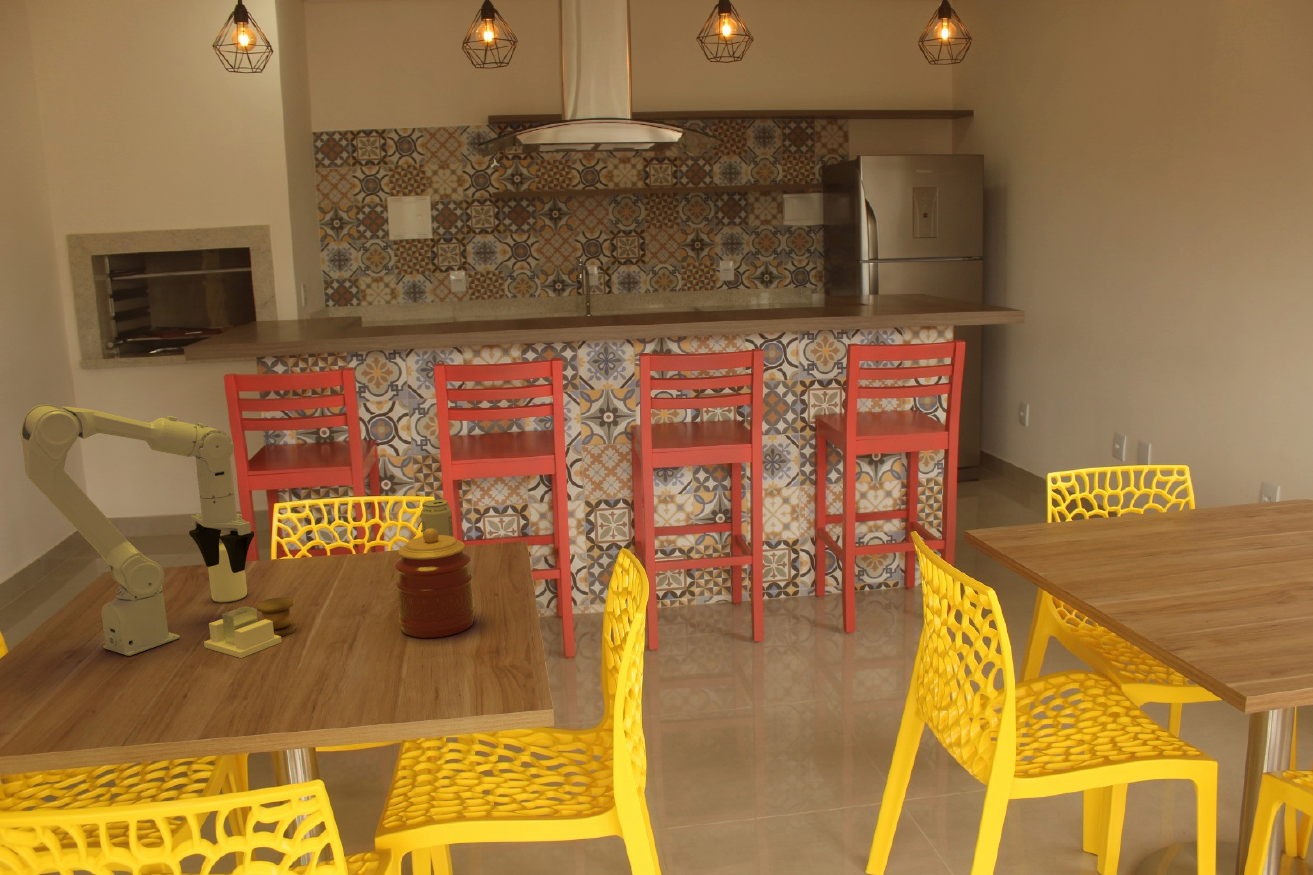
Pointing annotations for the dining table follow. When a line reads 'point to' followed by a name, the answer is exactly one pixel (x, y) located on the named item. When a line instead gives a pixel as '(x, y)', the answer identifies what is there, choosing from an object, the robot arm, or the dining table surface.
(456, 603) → the canister
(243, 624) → the tab
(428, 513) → the energy drink can
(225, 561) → the can
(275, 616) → the bobbin
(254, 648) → the notch board
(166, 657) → the dining table surface
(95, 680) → the dining table surface
